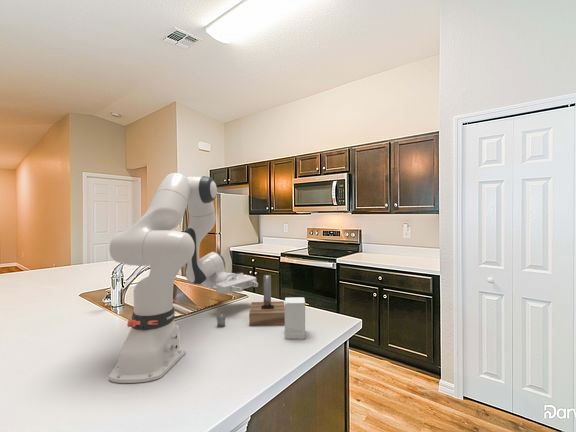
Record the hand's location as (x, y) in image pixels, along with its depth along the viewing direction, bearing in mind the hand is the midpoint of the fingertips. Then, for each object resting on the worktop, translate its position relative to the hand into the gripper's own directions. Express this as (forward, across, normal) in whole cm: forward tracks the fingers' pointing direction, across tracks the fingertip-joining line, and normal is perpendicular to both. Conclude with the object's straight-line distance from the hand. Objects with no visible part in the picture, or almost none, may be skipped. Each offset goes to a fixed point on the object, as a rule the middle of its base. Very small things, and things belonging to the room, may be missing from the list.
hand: (249, 287), depth 129 cm
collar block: (+10, 0, +12) cm, 15 cm away
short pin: (0, -16, +12) cm, 20 cm away
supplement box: (+28, -6, +12) cm, 31 cm away
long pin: (+10, 0, +12) cm, 15 cm away
